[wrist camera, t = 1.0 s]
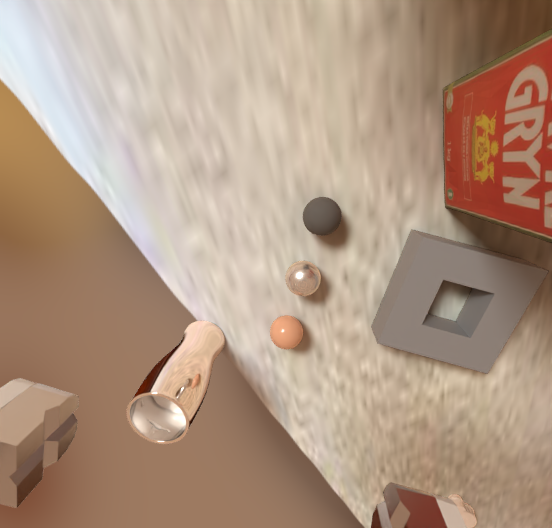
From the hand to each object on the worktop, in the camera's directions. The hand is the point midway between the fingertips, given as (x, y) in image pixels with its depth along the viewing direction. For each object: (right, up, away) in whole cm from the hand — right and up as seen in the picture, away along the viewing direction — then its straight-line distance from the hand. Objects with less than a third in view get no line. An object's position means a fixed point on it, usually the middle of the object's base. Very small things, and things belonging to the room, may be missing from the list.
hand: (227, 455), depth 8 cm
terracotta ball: (+3, -4, +35) cm, 35 cm away
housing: (+23, +1, +31) cm, 39 cm away
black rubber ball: (+7, +11, +30) cm, 33 cm away
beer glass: (-9, -6, +37) cm, 39 cm away
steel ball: (+5, +4, +32) cm, 33 cm away
